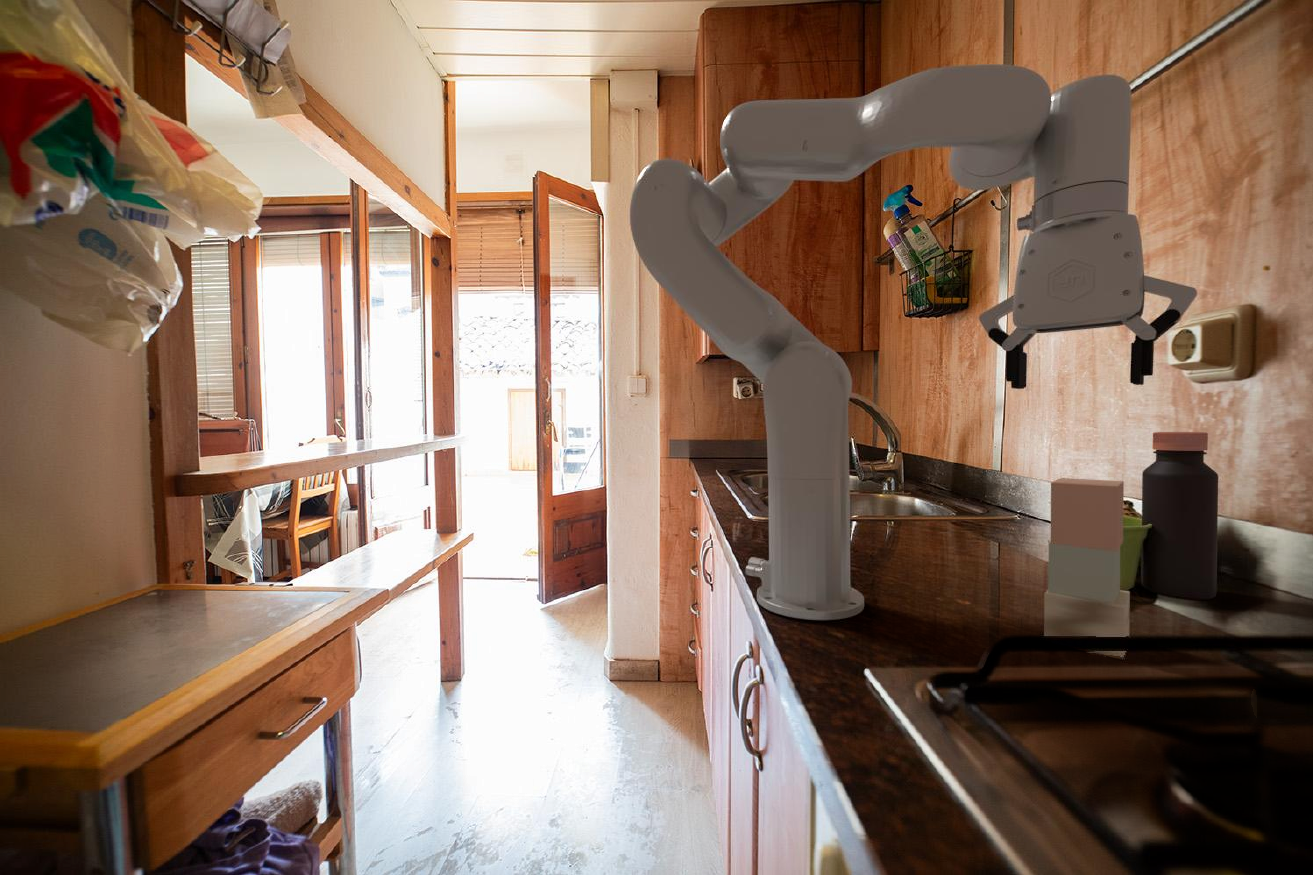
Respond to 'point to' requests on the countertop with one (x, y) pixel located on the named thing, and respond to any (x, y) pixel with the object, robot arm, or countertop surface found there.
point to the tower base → (1087, 617)
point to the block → (1087, 513)
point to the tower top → (1084, 572)
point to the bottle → (1180, 518)
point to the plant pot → (1131, 550)
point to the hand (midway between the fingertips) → (1074, 386)
